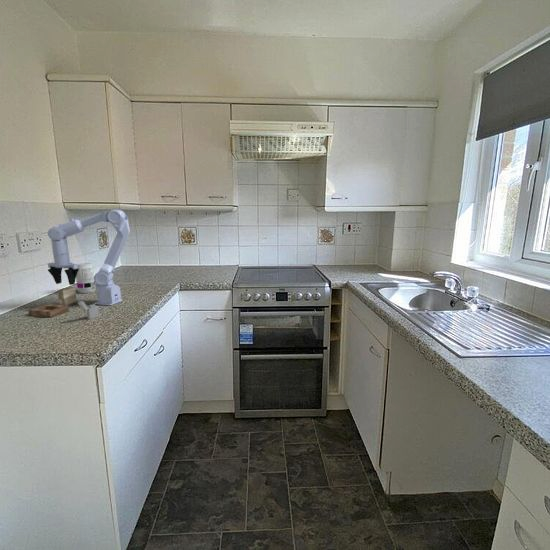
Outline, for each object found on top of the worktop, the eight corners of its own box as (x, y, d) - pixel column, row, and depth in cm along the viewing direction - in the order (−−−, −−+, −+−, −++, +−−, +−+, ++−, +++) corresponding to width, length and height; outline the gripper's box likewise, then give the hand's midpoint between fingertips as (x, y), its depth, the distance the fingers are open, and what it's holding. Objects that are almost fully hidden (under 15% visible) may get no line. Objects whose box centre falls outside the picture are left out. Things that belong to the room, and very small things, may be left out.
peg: (76, 303, 144) (74, 287, 143) (65, 307, 139) (62, 290, 137) (71, 303, 145) (69, 286, 143) (60, 307, 139) (57, 290, 138)
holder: (69, 311, 133) (68, 305, 133) (50, 317, 125) (49, 312, 125) (48, 309, 136) (47, 304, 136) (29, 315, 128) (28, 309, 128)
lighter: (96, 315, 128) (94, 296, 126) (99, 316, 127) (97, 297, 126) (80, 321, 122) (77, 301, 120) (83, 321, 121) (80, 302, 119)
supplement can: (75, 294, 161) (71, 265, 158) (81, 290, 168) (77, 263, 165) (93, 293, 163) (89, 265, 160) (97, 289, 171) (94, 262, 167)
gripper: (82, 253, 139) (85, 282, 142) (56, 252, 142) (60, 281, 145) (68, 255, 132) (72, 286, 135) (41, 254, 136) (46, 284, 139)
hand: (65, 283), depth 140 cm, fingers open, 7 cm apart
